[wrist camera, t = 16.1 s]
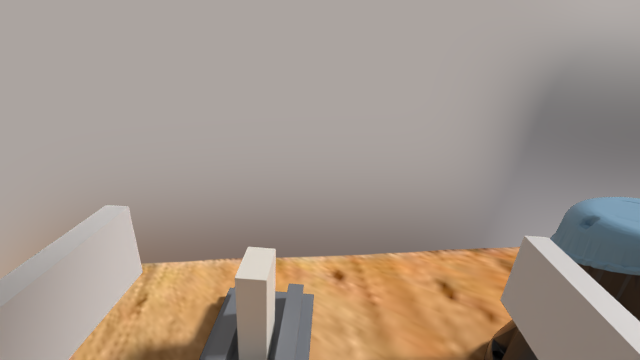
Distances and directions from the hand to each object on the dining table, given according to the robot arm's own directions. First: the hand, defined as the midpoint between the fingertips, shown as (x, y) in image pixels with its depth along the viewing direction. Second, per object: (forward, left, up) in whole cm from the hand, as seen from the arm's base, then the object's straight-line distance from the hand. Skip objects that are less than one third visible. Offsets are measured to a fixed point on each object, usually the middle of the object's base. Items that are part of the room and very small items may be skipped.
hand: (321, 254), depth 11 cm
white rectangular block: (-1, -18, -26) cm, 31 cm away
